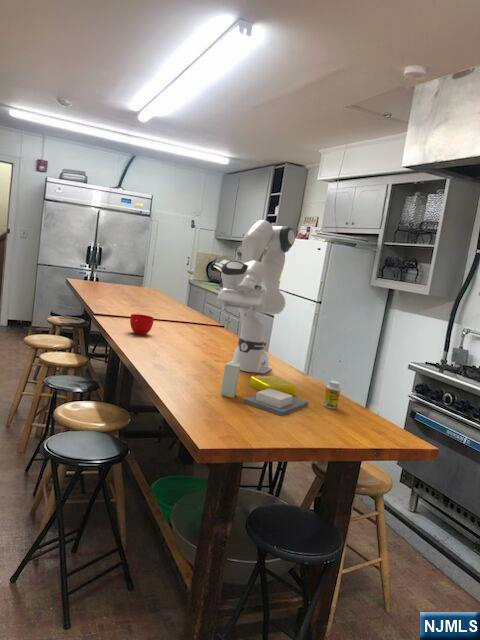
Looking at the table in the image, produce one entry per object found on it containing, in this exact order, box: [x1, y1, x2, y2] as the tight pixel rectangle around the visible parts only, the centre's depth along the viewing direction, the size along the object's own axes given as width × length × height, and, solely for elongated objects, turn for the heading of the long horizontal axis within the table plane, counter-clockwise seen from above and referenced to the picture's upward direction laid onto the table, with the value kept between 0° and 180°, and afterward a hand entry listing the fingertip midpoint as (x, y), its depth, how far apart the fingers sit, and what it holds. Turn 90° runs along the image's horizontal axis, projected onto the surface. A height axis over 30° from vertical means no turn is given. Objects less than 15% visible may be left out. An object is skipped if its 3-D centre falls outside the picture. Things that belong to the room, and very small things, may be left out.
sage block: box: [220, 361, 241, 398], centre depth 189 cm, size 5×5×12 cm
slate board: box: [243, 388, 309, 417], centre depth 188 cm, size 22×16×4 cm
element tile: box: [249, 375, 298, 396], centre depth 208 cm, size 15×15×5 cm
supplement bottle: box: [322, 380, 341, 409], centre depth 196 cm, size 6×6×10 cm
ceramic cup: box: [129, 313, 155, 336], centre depth 279 cm, size 13×17×10 cm
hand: (234, 313), depth 200 cm, fingers open, 8 cm apart
